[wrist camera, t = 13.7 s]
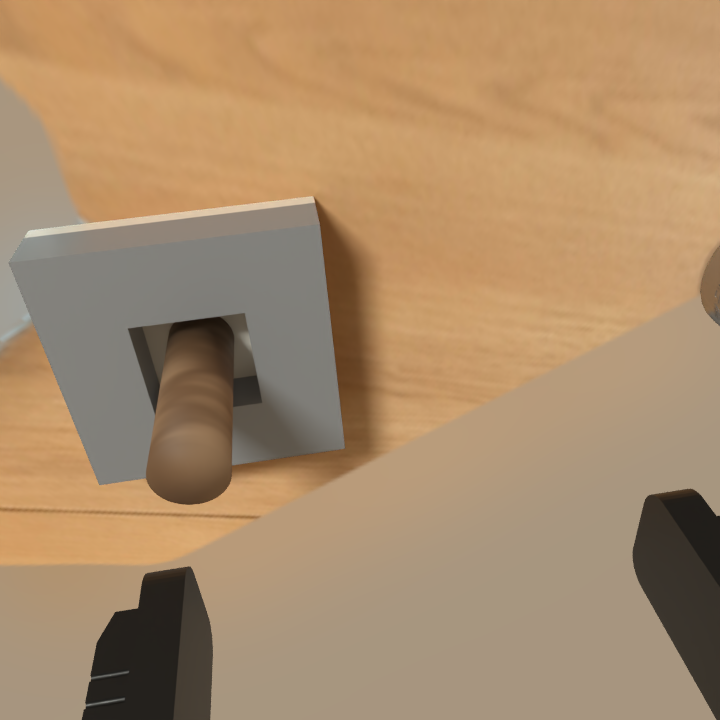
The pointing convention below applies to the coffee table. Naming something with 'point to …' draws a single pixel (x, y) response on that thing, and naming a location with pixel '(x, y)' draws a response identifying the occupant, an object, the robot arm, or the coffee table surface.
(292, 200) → the socket block
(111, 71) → the coffee table surface
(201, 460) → the walnut peg
